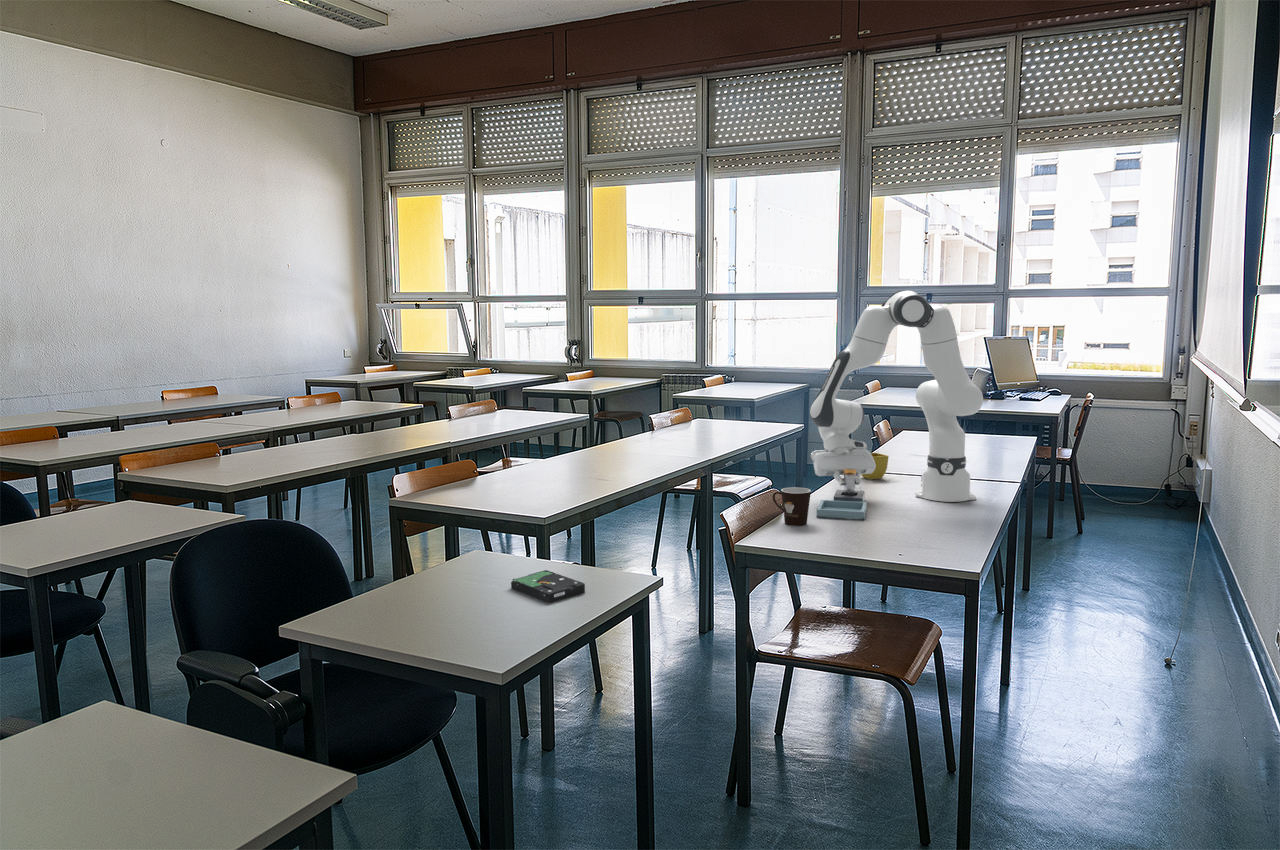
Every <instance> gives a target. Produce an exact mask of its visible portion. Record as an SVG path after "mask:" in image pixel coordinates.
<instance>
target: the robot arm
mask: <svg viewBox="0 0 1280 850" xmlns="http://www.w3.org/2000/svg"><path fill="white" fill-rule="evenodd" d="M897 326H903V327H908V328H917V330H918V333H919V336H920V343H921V350H922V357H923V361H924V366H925V367H926V369H927V370H928V371H929V372H930V373H931V374H932V375H933V376H932V377H934V379H932V380H927V381H924V382H922V383H920V385H919V386H918V387H917V389H916V392H915V399H916V404H918V406H919V407H920V409H921V410H922V412H923V414H924V417H925V419H926V423H927V428H928V434H929V435H928V436H929V438H928V439H929V441H928V449H929V451H928V455H927V458H926V459H927V460H926V462H927V464H926V466H927V468H925V470H924V471H923V472H922V474H921V477H920V478H921V480H920V481H921V482H922V483H921V484H920V487H921V488H920V489H919V490H918V491H917V492H916V493H915V497H917V498H923V499H926V500H929V501H935V502H944V503H945V502H946V503H955V502H957V503H958V502H966V501H971V500H972V501H973V500H976V499H977V496H976V495H975V494H974V493H973V492H971V474H970V473H969V472H968V471H967V469H966V466H967V457H966V455H965V454H966V453H965V451H966V447H965V446H966V432H965V430H964V429H963V427H961V425H960V424H959V421H958V419H957V417H966V416H972V415H974V414H975V415H976V413H978V412H979V411H980V410H981V408H982V406H983V403H984V396H983V395H984V394H983V392H982V390H981V389H980V388H979V387H978V386H977V385H976V384H975V383H974V382H973V381H972V379H971V378H970V376H969V374H968V372H967V371H966V368H965V366H964V364H963V361H962V357H961V352H960V347H959V342H958V341H959V340H958V334H957V330H956V326H955V322H954V318H953V316H952V314H951V311H950V310H949V308H948V307H945V306H944V305H931V304H930V303H929V302H928V300H927V299H926V298H925V297H924V296H922V295H921V294H920V293H918V292H915V291H912V290H905V289H904V290H898V291H896V292H894V293H892V294H891V295H890V296H889V297H888V298H887V299H886V300H885V301H884V302H883V303H881V305H870V306H867V307H866V308H865V309H864V310H863V312H862V313H861V315H860V317H859V319H858V322H857V323H856V326H855V329H854V332H853V335H852V337H851V340H850V342H849V343H848V345H847V346H846V347H845V349H843V350H841V351H840V352H839V353H838V354H837V355H836V357H835V359H834V360H833V362H832V365H831V366H830V369H829V371H828V373H827V375H826V377H825V380H824V381H823V384H822V386H821V388H820V389H819V392H818V393H817V396H815V398H814V400H813V402H811V405H810V407H809V416H810V419H811V421H812V422H813V423H814V425H816V426H817V427H818V433H819V435H820V438H821V439H822V442H823V447H824V449H821V450H818V449H817V450H813V451H812V452H811V453H810V458H811V460H812V462H813V469H814V474H815V475H816V476H818V477H825V476H826V477H827V476H828V477H829V476H833V479H835V480H836V481H837V482H838V484H839V485H840V486H844V485H845V484H846V481H845V479H844V477H842V476H844V473H843V469H856V473H855V486H856V485H857V486H858V485H860V484H861V479H860V476H861V474H871V473H873V471H874V470H875V467H876V464H875V461H874V459H873V457H872V455H871V453H872V452H870V450H868V449H867V447H868V446H867V443H865V442H864V441H859V440H856V439H855V440H854V439H852V438H850V434H852V433H855V432H856V431H857V430H858V429H859V428H861V426H862V425H863V423H864V422H865V411H864V407H863V406H862V404H861V403H860V402H857V401H854V400H849V399H848V400H847V399H839V398H837V395H838V392H839V391H840V388H841V386H842V384H843V382H844V380H845V378H846V377H847V375H849V374H850V373H852V372H853V371H856V370H860V369H865V368H868V367H871V366H874V365H876V364H877V363H878V362H879V361H880V360H881V359H882V358H883V356H884V354H885V351H886V348H887V346H888V342H889V338H890V334H891V333H892V331H893V330H894V329H895V327H897Z"/></svg>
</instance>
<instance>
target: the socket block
mask: <svg viewBox="0 0 1280 850" xmlns="http://www.w3.org/2000/svg"><path fill="white" fill-rule="evenodd" d="M865 493H866V491H865V490H856V489H855V496H850V495H844V489H836V491H835V494H834V495H833V500H834V501H854V502H865V498H866V497H865V496H866V494H865Z"/></svg>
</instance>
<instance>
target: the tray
mask: <svg viewBox="0 0 1280 850" xmlns="http://www.w3.org/2000/svg"><path fill="white" fill-rule="evenodd" d="M867 505H868V502H867V501H864V502H854V501H834V499H833V500H831V499H821V500H820V502H819V504H818V507H817V508H816V518H817V517H827V518H826V519H834V518H847V519H846V520H852V519H864V518H866V515H865V514H867V511H866V510H868V509H867V508H868V506H867ZM848 518H849V519H848ZM864 520H865V519H864Z"/></svg>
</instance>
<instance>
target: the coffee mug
mask: <svg viewBox="0 0 1280 850" xmlns="http://www.w3.org/2000/svg"><path fill="white" fill-rule="evenodd" d="M811 494H812V490H811V489H809V488H806V487H784V488H782V489H781V490H780V491H775V492H774V493H773V494H772V500H773V502H774V505H776V506H777V507H778V509H780V510H781V511H782V512H783V518H784V519H783V520H784V524H785V525H787V526H789V527H803V525H804V526H807V524H808V517H809V516H808V515H809V507H810V502H811V501H810V499H811ZM776 495H780V496H781V500H782V501H781V502H782V506H781V505H780V504H779V503H778V502H777V500H776V499H775V497H776Z"/></svg>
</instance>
